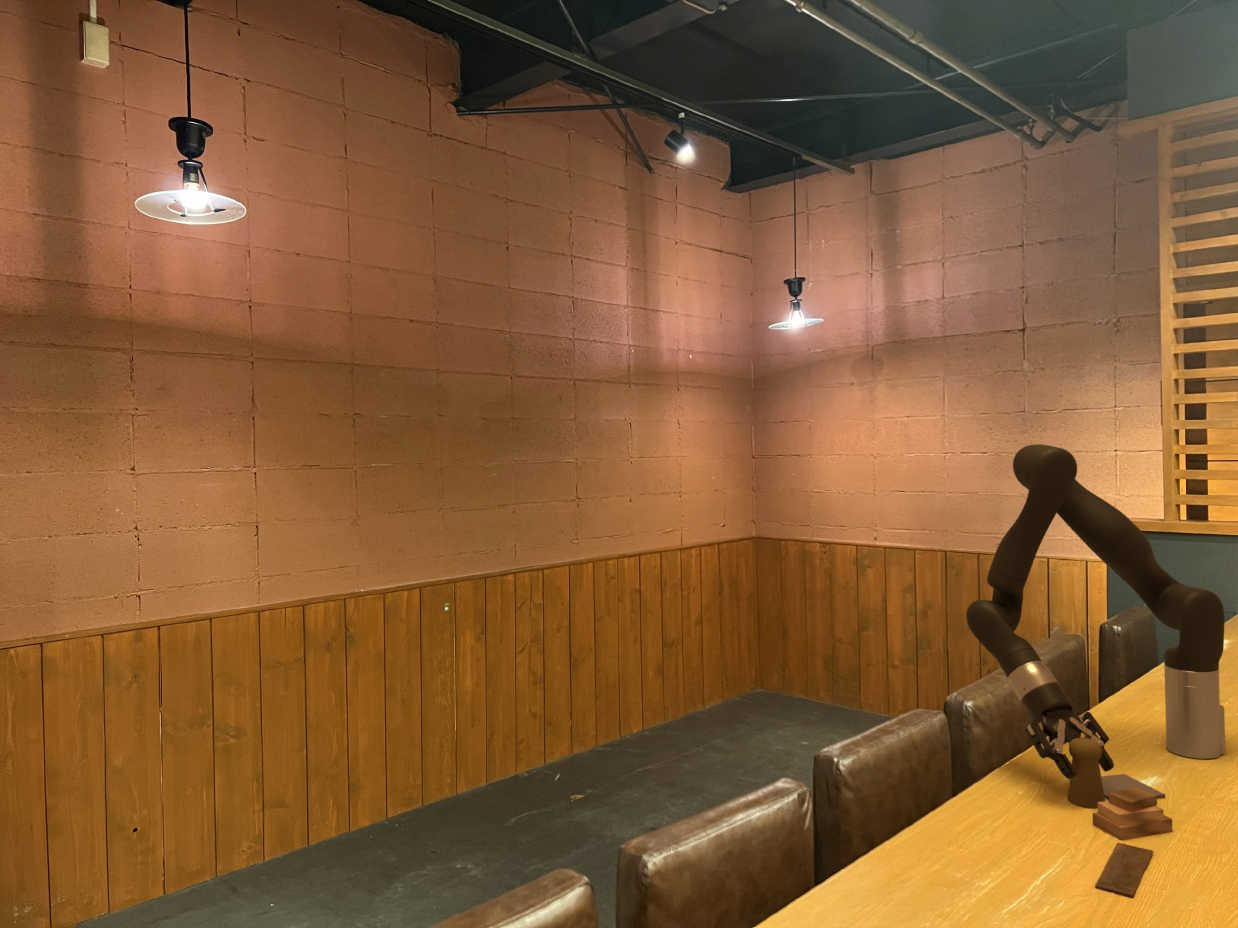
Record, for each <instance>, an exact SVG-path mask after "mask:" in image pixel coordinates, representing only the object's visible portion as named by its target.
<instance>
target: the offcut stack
mask: <svg viewBox="0 0 1238 928" xmlns="http://www.w3.org/2000/svg"><path fill="white" fill-rule="evenodd" d="M1164 812H1165V811H1164V809H1163V808H1161V807H1159V806H1158V799H1157V795H1154V794H1152V793H1149V792H1146V791H1144V790H1141V789H1139V788H1136V787H1133V788H1129V789H1125V790H1121V791H1117V792H1113V793H1110V794H1109V800H1107V801H1106V800H1105V801H1104V802H1098V808H1097V811H1096V812H1092V813H1091V814H1092V825H1093V826H1094V827H1097V828H1098V829H1099V830H1101V831H1103V832H1106V833H1107V834H1108V835H1109V834H1110V836H1113V837H1115V838H1117V839H1119V840H1121V841H1124V840H1125V841H1126V840H1130V839H1135V838H1142V837H1146V836H1152V835H1159V834H1163V833H1164V834H1165V833H1170V832H1173V818H1172V817H1169V816H1166V815H1165V814H1164Z"/></svg>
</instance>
